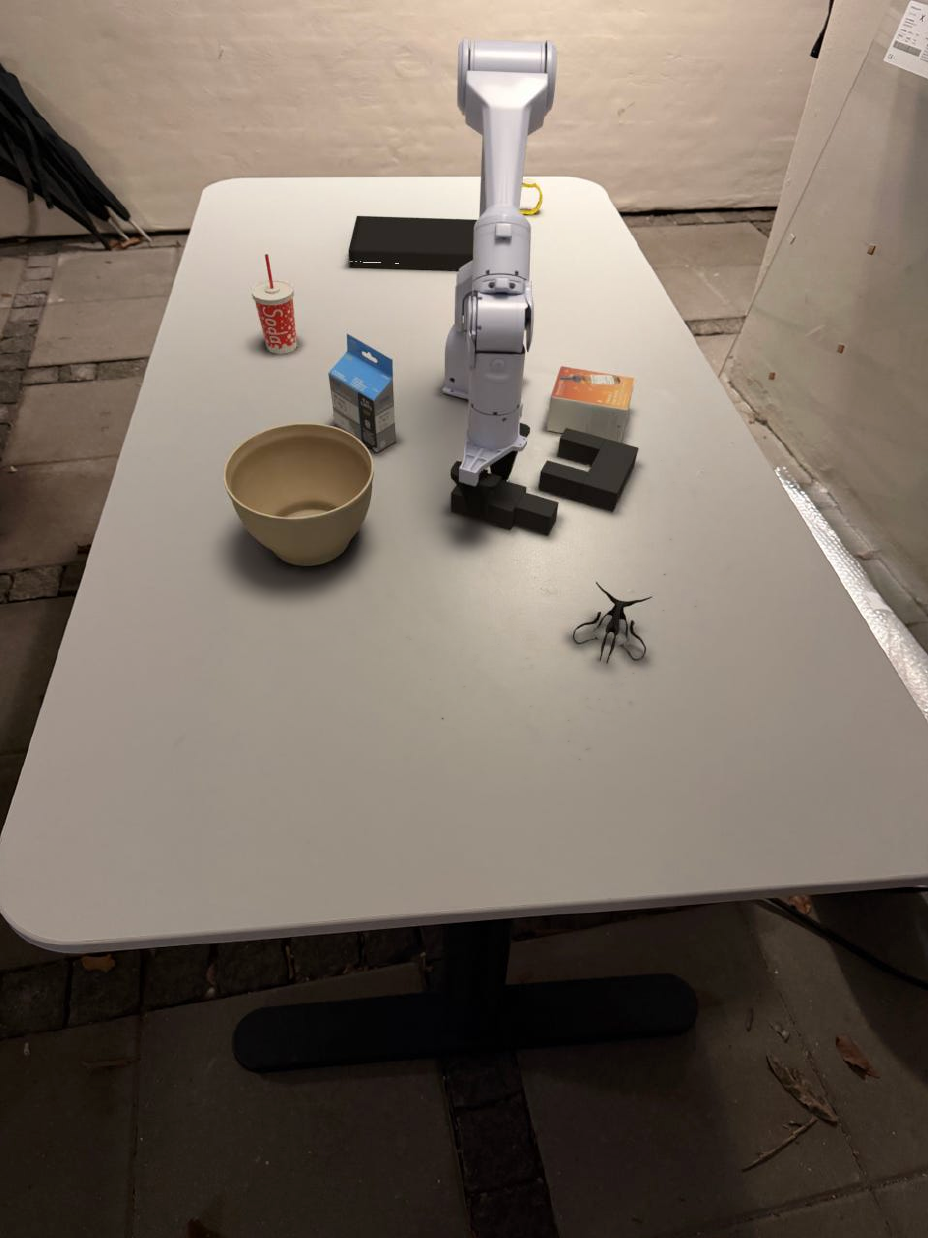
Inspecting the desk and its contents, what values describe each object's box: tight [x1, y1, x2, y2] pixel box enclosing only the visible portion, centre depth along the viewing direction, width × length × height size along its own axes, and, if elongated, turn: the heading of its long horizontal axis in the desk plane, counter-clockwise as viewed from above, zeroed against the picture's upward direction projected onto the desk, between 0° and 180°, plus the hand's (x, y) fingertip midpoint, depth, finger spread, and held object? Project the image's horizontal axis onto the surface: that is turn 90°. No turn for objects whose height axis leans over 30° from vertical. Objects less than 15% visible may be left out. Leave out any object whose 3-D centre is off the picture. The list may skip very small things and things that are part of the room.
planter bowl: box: [222, 422, 375, 567], centre depth 88 cm, size 16×16×11 cm
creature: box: [572, 581, 653, 664], centre depth 82 cm, size 8×5×8 cm
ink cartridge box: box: [327, 333, 397, 453], centre depth 101 cm, size 9×4×12 cm, turn 47°
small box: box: [546, 365, 636, 443], centre depth 107 cm, size 8×6×10 cm
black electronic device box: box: [348, 215, 478, 271], centre depth 140 cm, size 14×23×3 cm, turn 89°
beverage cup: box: [250, 253, 298, 355], centre depth 114 cm, size 6×6×14 cm
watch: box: [520, 177, 544, 216], centre depth 150 cm, size 6×3×6 cm, turn 96°
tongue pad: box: [450, 479, 560, 536], centre depth 95 cm, size 12×5×3 cm, turn 67°
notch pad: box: [538, 428, 639, 512], centre depth 100 cm, size 10×10×3 cm
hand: (488, 495), depth 95 cm, fingers open, 7 cm apart
